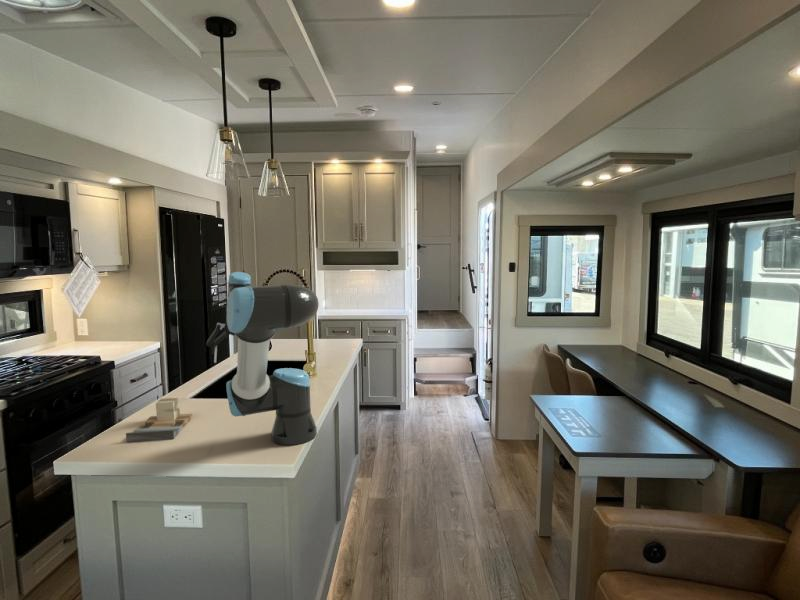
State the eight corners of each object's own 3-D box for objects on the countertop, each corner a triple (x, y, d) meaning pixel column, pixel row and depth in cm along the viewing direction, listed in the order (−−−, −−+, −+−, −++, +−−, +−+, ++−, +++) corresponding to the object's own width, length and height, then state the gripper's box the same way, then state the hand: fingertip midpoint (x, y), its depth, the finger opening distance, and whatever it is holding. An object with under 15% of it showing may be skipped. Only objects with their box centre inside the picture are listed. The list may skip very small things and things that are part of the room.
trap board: (151, 419, 171) (150, 412, 170) (192, 417, 173) (192, 409, 172) (126, 442, 151) (125, 433, 150) (173, 438, 153) (172, 430, 152)
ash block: (163, 415, 171) (162, 397, 170) (179, 414, 172) (178, 396, 171) (157, 421, 165) (155, 403, 164) (174, 420, 166) (172, 402, 165)
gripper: (271, 308, 173) (266, 354, 181) (200, 306, 163) (199, 355, 172) (273, 318, 167) (268, 365, 175) (200, 316, 157) (198, 366, 165)
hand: (234, 360), depth 173 cm, fingers open, 13 cm apart
